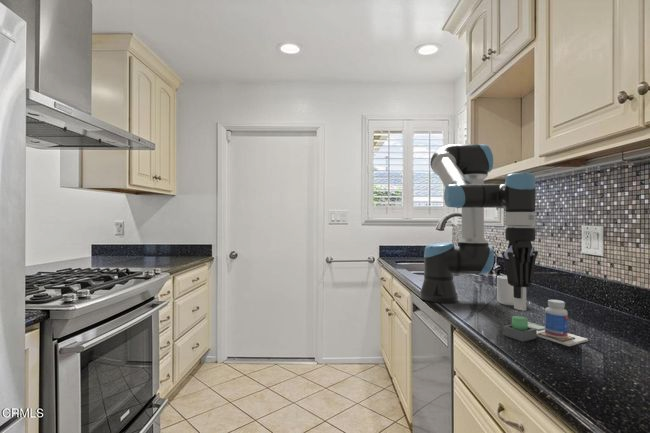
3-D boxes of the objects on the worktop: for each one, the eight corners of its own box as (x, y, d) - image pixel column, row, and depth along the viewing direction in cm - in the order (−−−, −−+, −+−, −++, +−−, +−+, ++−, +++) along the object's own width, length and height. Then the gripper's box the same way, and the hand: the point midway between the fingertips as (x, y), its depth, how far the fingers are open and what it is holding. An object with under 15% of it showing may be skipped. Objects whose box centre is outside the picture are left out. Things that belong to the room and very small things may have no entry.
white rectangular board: (510, 327, 107) (510, 324, 107) (528, 323, 111) (528, 321, 111) (569, 346, 91) (569, 343, 91) (588, 341, 95) (588, 338, 95)
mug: (497, 297, 146) (497, 273, 146) (519, 299, 142) (519, 275, 142) (496, 304, 135) (497, 278, 135) (521, 306, 131) (521, 279, 131)
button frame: (503, 334, 100) (503, 326, 100) (516, 331, 103) (516, 323, 103) (522, 341, 95) (522, 332, 95) (536, 338, 97) (536, 329, 97)
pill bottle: (569, 340, 94) (569, 304, 94) (546, 337, 96) (546, 302, 96) (565, 333, 99) (565, 300, 99) (543, 331, 101) (543, 298, 101)
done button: (508, 329, 99) (508, 316, 99) (517, 327, 101) (517, 315, 101) (521, 333, 96) (521, 320, 96) (530, 331, 98) (530, 318, 98)
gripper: (517, 227, 92) (517, 315, 92) (547, 227, 98) (547, 309, 98) (493, 226, 99) (493, 308, 99) (522, 226, 105) (522, 303, 105)
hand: (520, 309), depth 98 cm, fingers closed
